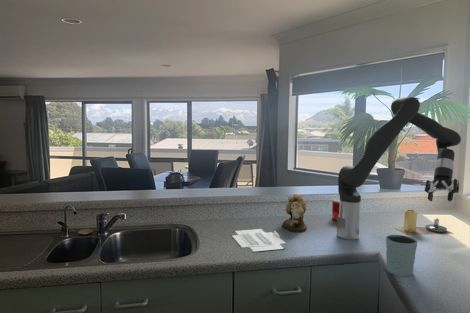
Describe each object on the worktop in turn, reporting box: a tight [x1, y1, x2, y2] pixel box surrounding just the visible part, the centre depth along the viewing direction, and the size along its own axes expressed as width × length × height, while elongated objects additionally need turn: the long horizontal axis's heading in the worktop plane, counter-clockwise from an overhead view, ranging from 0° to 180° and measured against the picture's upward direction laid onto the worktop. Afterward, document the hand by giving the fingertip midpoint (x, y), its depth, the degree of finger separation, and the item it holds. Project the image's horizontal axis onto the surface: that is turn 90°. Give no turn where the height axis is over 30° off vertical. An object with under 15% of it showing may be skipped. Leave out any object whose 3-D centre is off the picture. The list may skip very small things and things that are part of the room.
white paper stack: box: [232, 228, 287, 253], centre depth 154 cm, size 20×28×4 cm
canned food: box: [331, 198, 340, 222], centre depth 189 cm, size 8×8×11 cm
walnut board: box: [394, 226, 454, 236], centre depth 166 cm, size 24×11×5 cm, turn 97°
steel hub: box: [424, 217, 448, 233], centre depth 167 cm, size 9×9×6 cm
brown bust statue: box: [281, 193, 308, 233], centre depth 174 cm, size 18×12×17 cm, turn 8°
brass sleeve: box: [403, 208, 418, 233], centre depth 165 cm, size 5×5×10 cm
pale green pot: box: [385, 234, 418, 277], centre depth 123 cm, size 10×10×12 cm
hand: (439, 200), depth 160 cm, fingers open, 8 cm apart
